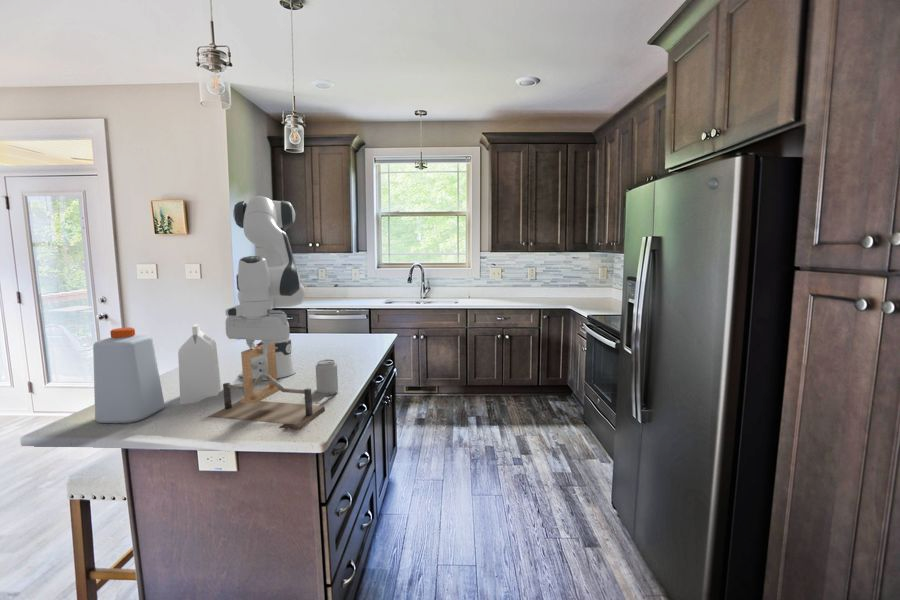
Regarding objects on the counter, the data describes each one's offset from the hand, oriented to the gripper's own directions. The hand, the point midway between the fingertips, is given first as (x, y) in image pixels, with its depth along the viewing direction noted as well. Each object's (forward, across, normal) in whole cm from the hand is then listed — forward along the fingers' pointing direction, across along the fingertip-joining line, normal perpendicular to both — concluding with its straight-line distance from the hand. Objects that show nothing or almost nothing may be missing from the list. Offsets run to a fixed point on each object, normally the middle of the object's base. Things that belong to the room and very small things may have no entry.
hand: (259, 353), depth 133 cm
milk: (+20, +33, -11) cm, 41 cm away
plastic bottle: (+20, +42, +8) cm, 48 cm away
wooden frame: (+14, 0, 0) cm, 14 cm away
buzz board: (+20, -2, 0) cm, 20 cm away
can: (+20, -10, -23) cm, 32 cm away
